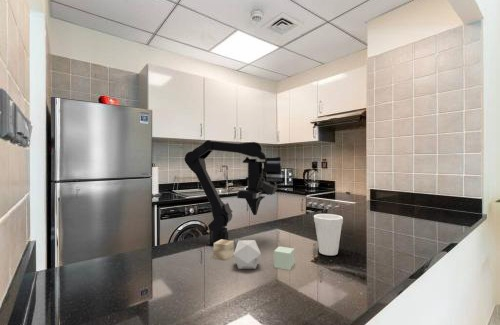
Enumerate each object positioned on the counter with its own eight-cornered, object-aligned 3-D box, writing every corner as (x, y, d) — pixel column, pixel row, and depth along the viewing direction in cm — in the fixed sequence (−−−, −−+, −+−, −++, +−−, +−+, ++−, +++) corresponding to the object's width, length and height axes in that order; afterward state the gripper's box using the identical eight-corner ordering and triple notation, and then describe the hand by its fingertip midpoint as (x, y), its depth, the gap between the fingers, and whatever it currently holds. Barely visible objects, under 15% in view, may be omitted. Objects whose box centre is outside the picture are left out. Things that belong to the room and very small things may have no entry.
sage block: (273, 267, 74) (273, 251, 74) (279, 261, 79) (279, 246, 79) (290, 270, 72) (290, 253, 72) (294, 264, 77) (294, 248, 77)
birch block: (213, 258, 82) (213, 243, 82) (221, 253, 87) (221, 239, 87) (226, 260, 80) (226, 245, 80) (233, 255, 84) (233, 241, 84)
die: (251, 278, 68) (268, 246, 72) (225, 261, 70) (243, 231, 73) (250, 276, 76) (265, 248, 79) (227, 261, 77) (242, 234, 81)
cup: (344, 251, 89) (344, 215, 89) (342, 260, 80) (341, 220, 80) (316, 247, 93) (316, 212, 93) (311, 255, 84) (311, 217, 84)
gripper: (265, 175, 83) (265, 221, 83) (282, 174, 100) (282, 212, 100) (236, 175, 88) (236, 218, 88) (257, 174, 105) (257, 210, 105)
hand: (254, 214), depth 95 cm, fingers closed
